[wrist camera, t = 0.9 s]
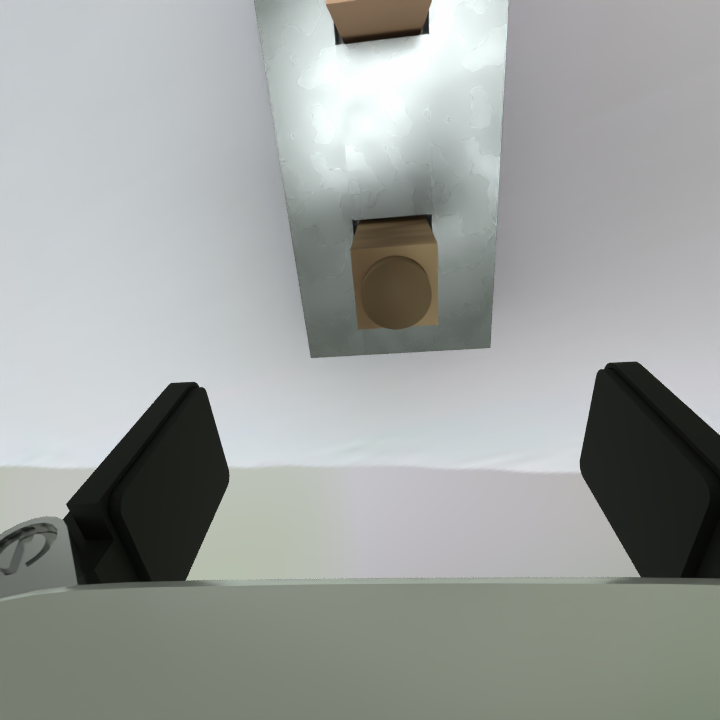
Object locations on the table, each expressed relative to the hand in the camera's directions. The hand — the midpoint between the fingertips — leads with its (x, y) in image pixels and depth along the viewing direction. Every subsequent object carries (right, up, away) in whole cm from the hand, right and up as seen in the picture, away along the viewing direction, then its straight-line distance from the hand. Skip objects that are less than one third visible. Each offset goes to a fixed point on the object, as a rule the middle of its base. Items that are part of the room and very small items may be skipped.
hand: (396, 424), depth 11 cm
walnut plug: (+1, +10, +19) cm, 21 cm away
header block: (+1, +16, +17) cm, 23 cm away
